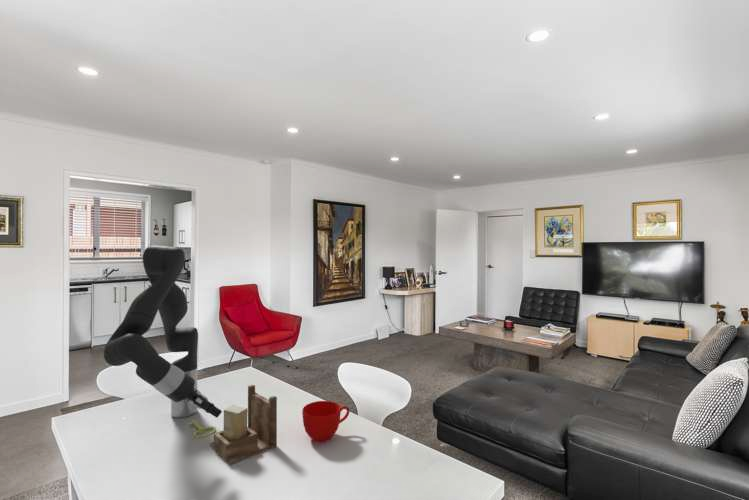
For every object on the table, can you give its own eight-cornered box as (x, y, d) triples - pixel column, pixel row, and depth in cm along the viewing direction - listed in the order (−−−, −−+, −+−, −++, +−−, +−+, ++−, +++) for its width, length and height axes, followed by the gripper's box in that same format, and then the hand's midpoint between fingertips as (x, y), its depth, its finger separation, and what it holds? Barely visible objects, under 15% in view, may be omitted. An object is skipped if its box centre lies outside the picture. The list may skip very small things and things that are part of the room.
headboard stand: (209, 445, 125) (209, 396, 125) (253, 429, 136) (253, 384, 136) (232, 466, 113) (232, 412, 113) (278, 446, 124) (278, 397, 124)
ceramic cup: (357, 438, 130) (357, 408, 130) (310, 451, 121) (310, 420, 121) (341, 422, 141) (341, 395, 141) (296, 434, 132) (296, 405, 132)
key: (194, 424, 140) (194, 419, 140) (218, 431, 135) (218, 425, 135) (176, 433, 134) (176, 427, 134) (201, 441, 129) (201, 435, 129)
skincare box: (222, 447, 122) (222, 409, 121) (232, 441, 126) (232, 404, 125) (238, 452, 119) (238, 413, 119) (248, 445, 123) (247, 407, 123)
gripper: (192, 376, 106) (232, 405, 114) (174, 365, 116) (212, 392, 124) (171, 401, 102) (214, 429, 111) (155, 387, 112) (195, 414, 121)
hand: (213, 410), depth 117 cm, fingers open, 8 cm apart
